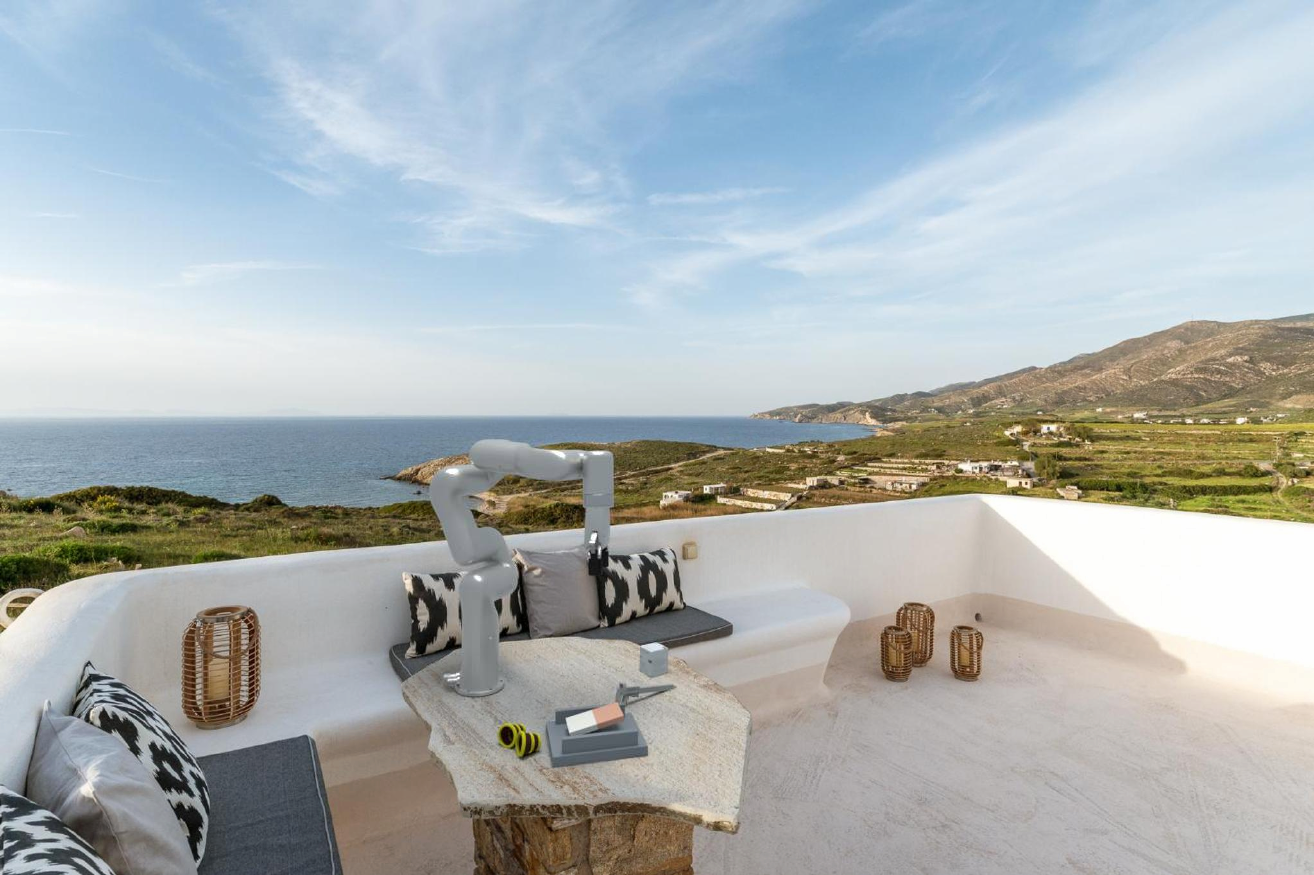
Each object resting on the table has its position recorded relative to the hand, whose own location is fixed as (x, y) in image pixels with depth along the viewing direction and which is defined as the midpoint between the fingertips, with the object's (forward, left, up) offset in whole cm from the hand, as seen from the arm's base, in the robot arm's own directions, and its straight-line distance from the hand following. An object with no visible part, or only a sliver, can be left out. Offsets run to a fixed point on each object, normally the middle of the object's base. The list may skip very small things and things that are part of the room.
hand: (598, 571), depth 150 cm
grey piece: (-3, -14, -35) cm, 38 cm away
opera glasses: (-19, -13, -35) cm, 42 cm away
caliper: (+14, +6, -35) cm, 38 cm away
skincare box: (+20, +22, -35) cm, 46 cm away
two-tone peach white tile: (-3, -14, -30) cm, 33 cm away
